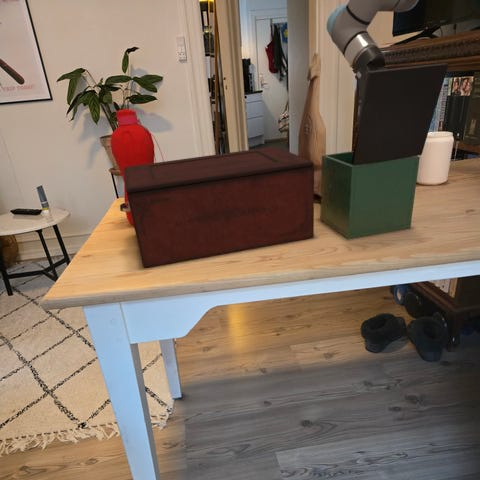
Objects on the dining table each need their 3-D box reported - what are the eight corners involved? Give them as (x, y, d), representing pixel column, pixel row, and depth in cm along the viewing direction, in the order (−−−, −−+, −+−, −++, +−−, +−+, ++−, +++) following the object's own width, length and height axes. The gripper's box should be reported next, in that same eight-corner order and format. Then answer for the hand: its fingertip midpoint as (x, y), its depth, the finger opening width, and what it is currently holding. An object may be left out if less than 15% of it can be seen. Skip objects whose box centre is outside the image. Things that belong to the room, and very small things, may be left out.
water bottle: (171, 224, 98) (150, 108, 85) (126, 228, 99) (98, 113, 86) (175, 212, 106) (157, 105, 93) (134, 216, 107) (109, 109, 94)
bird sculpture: (283, 201, 106) (278, 56, 90) (299, 190, 115) (297, 55, 98) (324, 204, 101) (327, 50, 85) (338, 191, 110) (343, 49, 93)
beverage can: (414, 178, 115) (420, 131, 108) (446, 178, 112) (454, 130, 105) (413, 185, 108) (419, 137, 102) (446, 186, 105) (455, 135, 99)
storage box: (284, 207, 102) (282, 142, 94) (323, 236, 83) (325, 158, 75) (128, 232, 95) (113, 165, 88) (131, 270, 76) (111, 189, 68)
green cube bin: (320, 219, 92) (321, 155, 85) (376, 210, 94) (381, 147, 87) (348, 239, 80) (351, 166, 73) (410, 227, 83) (420, 156, 75)
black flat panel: (367, 71, 63) (369, 72, 62) (446, 62, 65) (449, 64, 64) (351, 163, 73) (353, 165, 73) (419, 153, 76) (421, 155, 75)
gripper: (387, 73, 115) (428, 130, 110) (322, 71, 103) (365, 135, 98) (406, 47, 109) (450, 106, 104) (339, 41, 97) (385, 108, 92)
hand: (409, 120), depth 101 cm, fingers open, 13 cm apart
